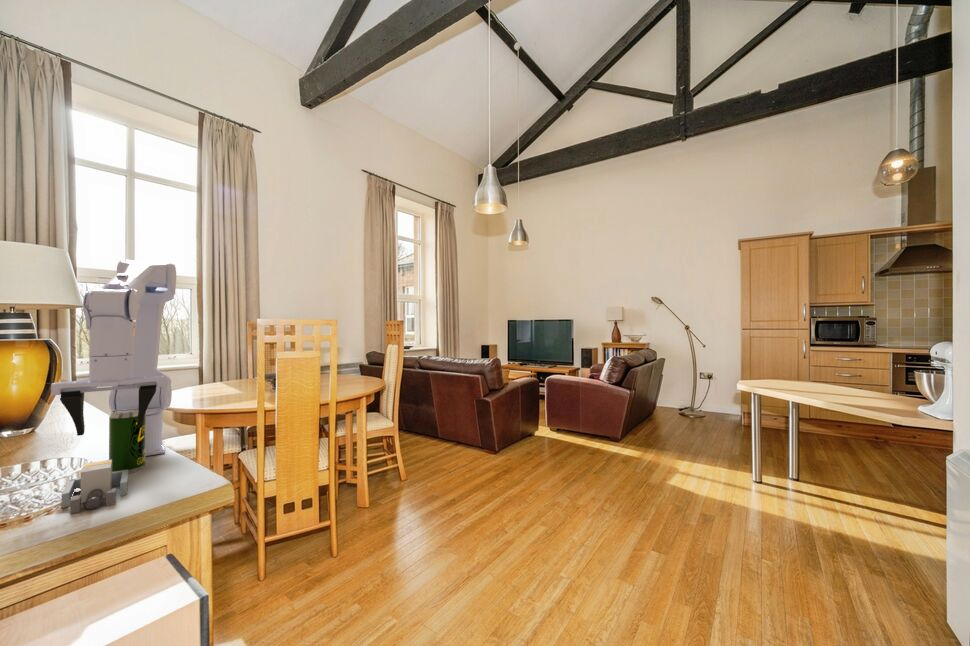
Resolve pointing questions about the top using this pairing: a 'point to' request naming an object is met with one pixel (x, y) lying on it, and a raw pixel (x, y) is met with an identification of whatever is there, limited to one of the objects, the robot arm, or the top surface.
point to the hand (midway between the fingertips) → (111, 430)
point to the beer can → (126, 440)
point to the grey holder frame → (117, 478)
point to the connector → (95, 482)
